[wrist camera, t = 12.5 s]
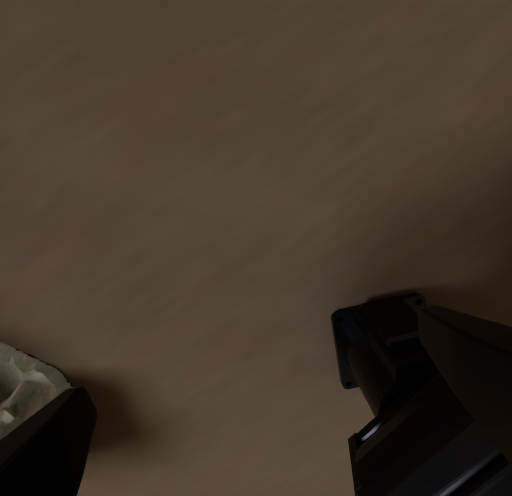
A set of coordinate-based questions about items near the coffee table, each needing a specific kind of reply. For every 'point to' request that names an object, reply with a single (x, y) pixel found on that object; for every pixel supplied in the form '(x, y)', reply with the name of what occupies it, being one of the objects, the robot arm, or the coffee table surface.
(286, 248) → the coffee table surface
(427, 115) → the coffee table surface
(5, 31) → the coffee table surface
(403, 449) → the robot arm
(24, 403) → the ceramic cottage
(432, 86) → the coffee table surface
